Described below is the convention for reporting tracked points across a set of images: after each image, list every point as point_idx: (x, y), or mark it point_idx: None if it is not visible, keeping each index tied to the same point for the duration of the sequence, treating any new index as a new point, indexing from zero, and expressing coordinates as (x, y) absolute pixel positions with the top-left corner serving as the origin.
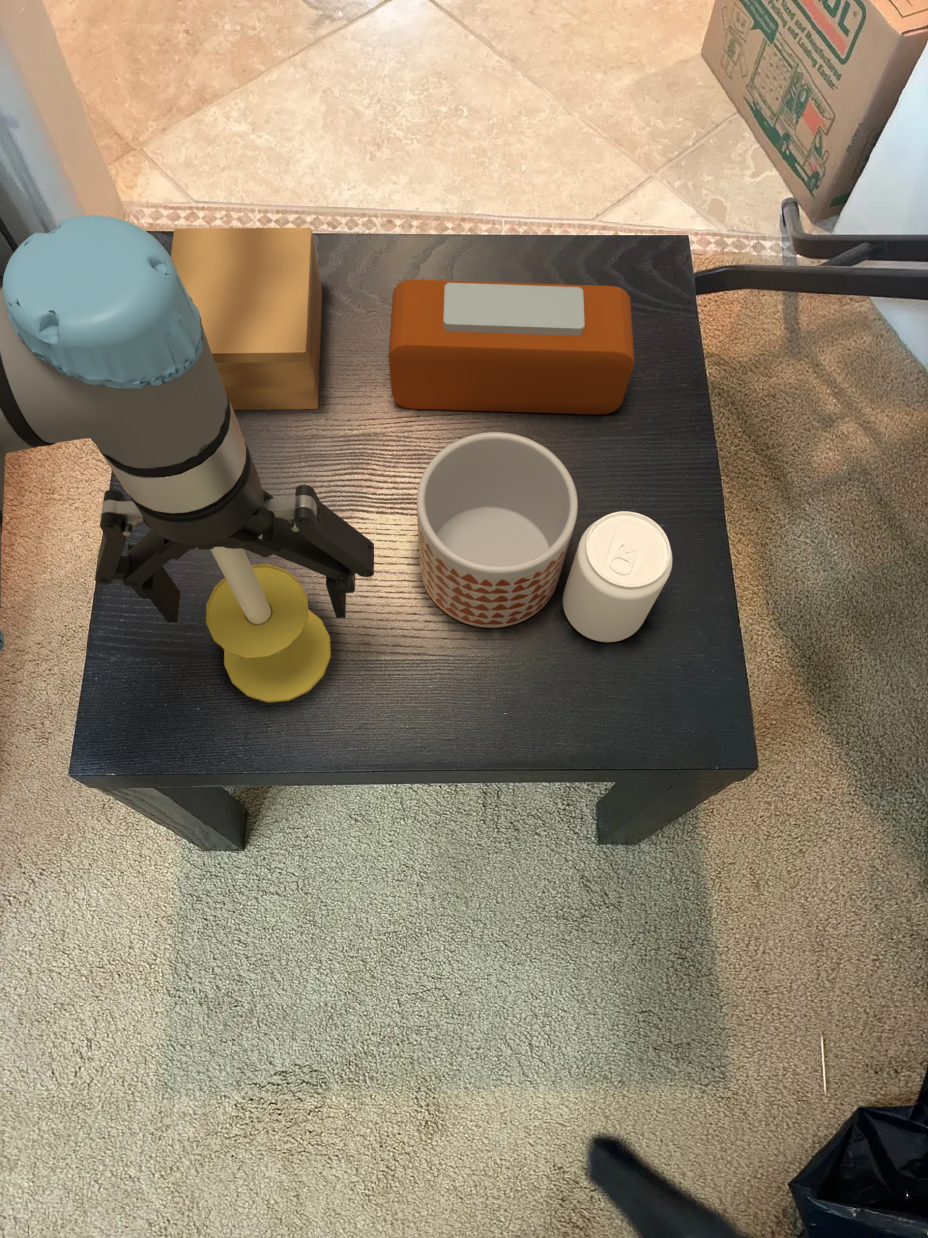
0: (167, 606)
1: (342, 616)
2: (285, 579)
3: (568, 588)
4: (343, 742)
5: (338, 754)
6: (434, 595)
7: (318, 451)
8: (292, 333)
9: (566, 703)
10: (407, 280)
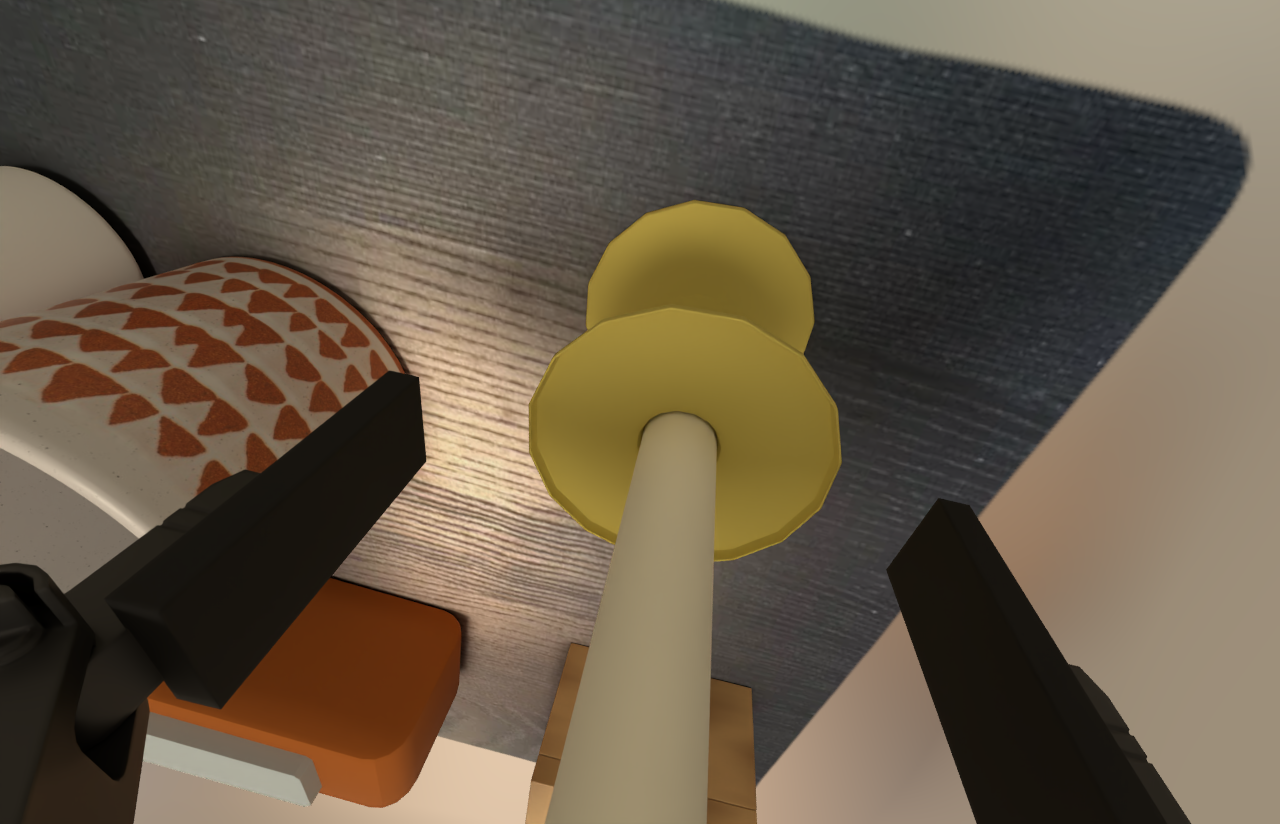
0: (986, 601)
1: (390, 377)
2: (591, 504)
3: (45, 298)
4: (581, 45)
5: (597, 7)
6: (362, 354)
7: (576, 599)
8: (549, 801)
9: (71, 33)
10: (379, 807)
